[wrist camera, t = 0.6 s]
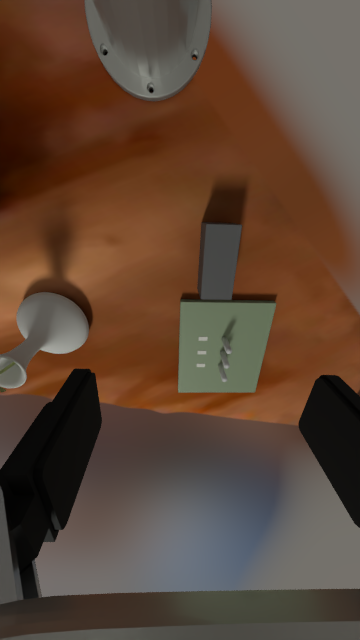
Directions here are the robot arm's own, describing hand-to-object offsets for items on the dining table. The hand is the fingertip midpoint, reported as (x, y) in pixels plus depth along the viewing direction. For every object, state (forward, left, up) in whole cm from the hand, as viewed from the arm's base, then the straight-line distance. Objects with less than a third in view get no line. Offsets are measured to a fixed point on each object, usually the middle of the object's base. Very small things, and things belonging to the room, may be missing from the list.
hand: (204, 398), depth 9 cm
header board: (+16, +8, -28) cm, 33 cm away
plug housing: (-1, +5, -28) cm, 28 cm away
